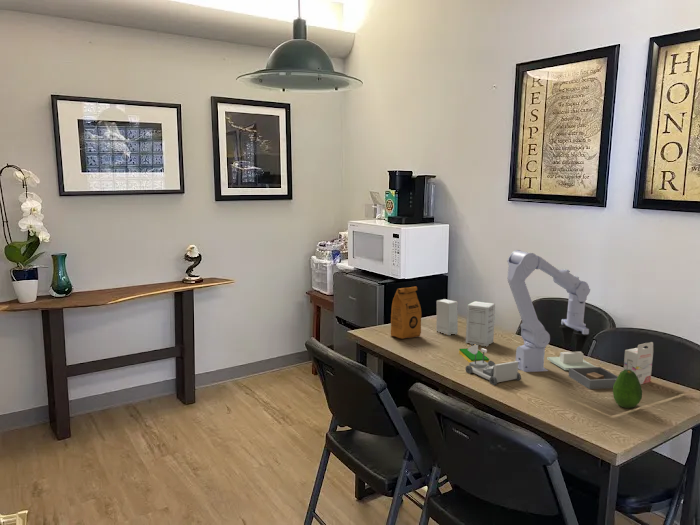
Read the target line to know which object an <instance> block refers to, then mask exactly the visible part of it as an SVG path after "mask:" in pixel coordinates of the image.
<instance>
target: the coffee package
mask: <svg viewBox="0 0 700 525" xmlns="http://www.w3.org/2000/svg"><path fill="white" fill-rule="evenodd" d="M416 291H418V287H417V286H411V287H401V288H397V289H396V291H395V293H394V297H393V298H392V303H391V313H390V336H391V337H395V338H397V339H409V338H411V339H412V338H417V337H420V336H421V334H422V314H423V313H422V308H421V304H420V301H419V298H418V295H417V292H416Z"/></svg>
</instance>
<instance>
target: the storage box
mask: <svg viewBox="0 0 700 525" xmlns="http://www.w3.org/2000/svg"><path fill="white" fill-rule="evenodd" d="M592 372H595V373H598V374H601V375H603V376H604V379H596V380H590V379H588V378H587V377H586V374H588V373H592ZM568 377H569V378H570V379H572V380H573V381H576V382H577V383H579V384H580V385H582V386H584V387H585V388H586V389H588V390H596V389H598V390H599V389H600V390H601V389H613V385H614V383H615V381H616V379H617V377H618V375H616V374H614V373H612V372H611V371H608V370H607V369H606V368H603V367H601V366H596V367H586V368H569V370H568Z"/></svg>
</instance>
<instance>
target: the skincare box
mask: <svg viewBox="0 0 700 525" xmlns="http://www.w3.org/2000/svg"><path fill="white" fill-rule="evenodd" d="M458 306H459V304H458V301H456V300H451V299H446V298H443V299H437V300H436V323H435V324H436V329H435V330H436V331H438V332H437V333H439V332H441V333H440V334H442V333H444V334H443V335H445V334H447V335H446V336H451V334H455V335H458V331H459V330H458V328H459V326H458V323H459V321H458V320H459V319H458V318H459V317H458V314H459V313H458V312H459V310H458V309H459V308H458Z"/></svg>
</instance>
